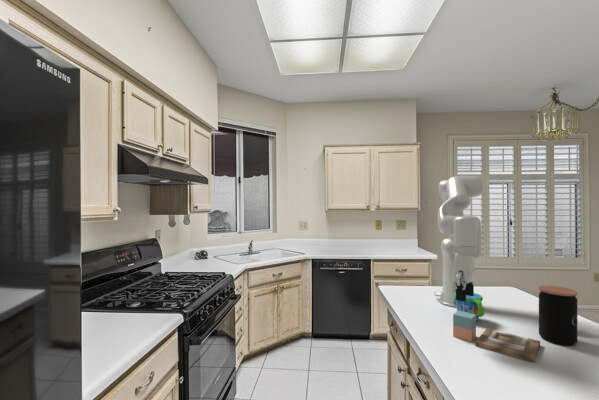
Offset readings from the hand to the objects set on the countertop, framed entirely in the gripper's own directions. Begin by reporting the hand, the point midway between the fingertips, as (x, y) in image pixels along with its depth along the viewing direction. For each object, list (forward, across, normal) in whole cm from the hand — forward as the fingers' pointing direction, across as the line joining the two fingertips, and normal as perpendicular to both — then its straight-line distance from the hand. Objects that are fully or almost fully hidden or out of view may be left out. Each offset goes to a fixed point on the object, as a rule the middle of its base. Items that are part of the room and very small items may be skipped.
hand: (464, 298), depth 113 cm
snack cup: (+14, -21, -4) cm, 25 cm away
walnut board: (+14, -3, +13) cm, 19 cm away
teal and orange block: (+14, -1, 0) cm, 14 cm away
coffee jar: (+14, -21, +25) cm, 35 cm away
